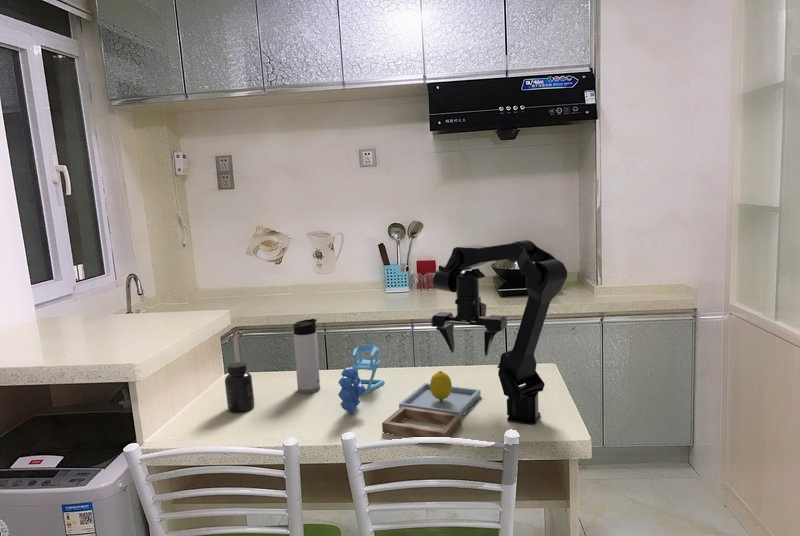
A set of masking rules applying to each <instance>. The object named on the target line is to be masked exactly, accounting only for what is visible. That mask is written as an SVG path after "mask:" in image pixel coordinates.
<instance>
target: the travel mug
mask: <svg viewBox="0 0 800 536" xmlns="http://www.w3.org/2000/svg"><path fill="white" fill-rule="evenodd" d="M316 323H317V319H316V318H310V319H309V318H308V319H304V320H303V319H302V320H299V321H297V322H295V323H293V341H294V342H293V343H294V357H295V370H296V371H295V372H296V383H297V391H298V392H299V393H301V394H313V393H316V392H318V391H319V390H320V389H321V380H320V368H319V367H320V365H319V350H318V337H317V336H318V335H317V324H316Z"/></svg>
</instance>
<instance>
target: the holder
mask: <svg viewBox="0 0 800 536" xmlns="http://www.w3.org/2000/svg"><path fill="white" fill-rule="evenodd" d="M405 418H406V420H410V419H413V420H412V421H417V420H419V421H418V422H423V421H425V422H424V423H429V422H430V423H431V424H437V425H442V424H444V425H443V426H444V427H443V428H442V429H436V428H430V427H424V426H420V425H419V426H418V425H412V424H407V423H406V424H405V423H402V422H403V421H404V420H405ZM402 420H403V421H402ZM401 421H402V422H401ZM400 422H401V423H400ZM462 424H463V416H462V415H458V414H451V413H444V412H437V411H431V410H424V409H417V408H410V407H403V406H402V407H401V408H400V409H399V408H398V409H397V410H396V411H395V412H393V413H392V414H391V415H390V416H389V417H387V418H386V419H385V420H384V421H382V423H381V427H382V428H381V429H382V433H383V432H384V433H389V434H393V435H392V436H395V437H403V438H407V437H451V438H452V437H453V436H454V435H455V434H456V433H457V432H458V431H459V429H460V428H461V427H462V426H463V425H462ZM461 425H462V426H461ZM460 426H461V427H460ZM459 427H460V428H459ZM456 431H457V432H456ZM455 432H456V433H455ZM384 433H383V434H384ZM454 433H455V434H454ZM389 434H388V435H389ZM453 434H454V435H453Z"/></svg>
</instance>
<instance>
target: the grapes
mask: <svg viewBox="0 0 800 536" xmlns="http://www.w3.org/2000/svg"><path fill="white" fill-rule="evenodd" d="M357 374H358V375H359V372H358V373H357V371H356V370H355V369H354V368H352V366H351V367H346V368H345V369H343V370H342V371H341V374H340V375H341V376H342V377H341V378H340V379H339V381H337V382H338V384H339V386H340V387H341V389H340V391H339V392H338V394H337V396H338V397H339V398H340V400H342V401H341V402H340V406H341V408H342V409H343V410H344V411H346V412H348V414H352V413H354V412H355V411H356V410H357V408H358V406H359V404H360V403H361V401H360V399H359V398H360V397H362V396H364V395H365V394H366V393H367V388H366V387H365V386H364V385H363V384H362V383H361V384H359V382H360V379H361V378H360V376H359V377H358V376H357Z"/></svg>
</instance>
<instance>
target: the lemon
mask: <svg viewBox="0 0 800 536" xmlns="http://www.w3.org/2000/svg"><path fill="white" fill-rule="evenodd" d="M429 384H430V390H431V393H432V395H433V396H434V397H435V398H437V399H439V400H440V401H443V400H444V399H445V398H447V397H448V396H449V395H450V393H451V389H452V386H453V385H452V380H451V377H450V376H449V375H448V373H446V372H444V371H442V370H439V371H438V372H435V373H434V374H433V375H432V376H431V378H430V383H429Z"/></svg>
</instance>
